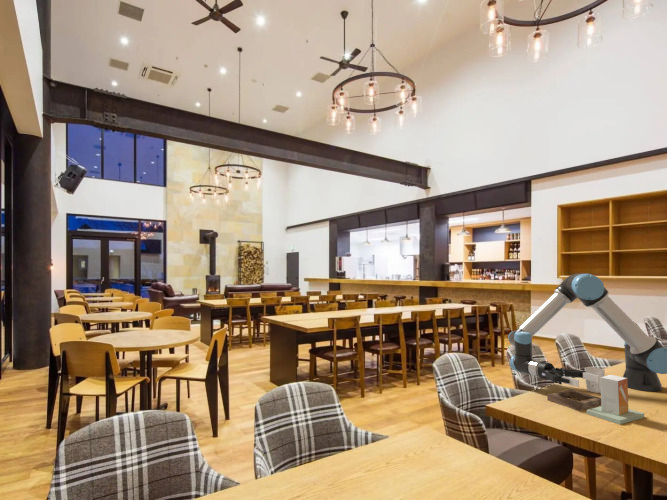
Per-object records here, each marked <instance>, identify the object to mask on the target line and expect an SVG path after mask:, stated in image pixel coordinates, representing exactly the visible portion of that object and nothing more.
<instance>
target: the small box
mask: <svg viewBox="0 0 667 500" xmlns="http://www.w3.org/2000/svg"><path fill="white" fill-rule="evenodd" d="M600 383H601V393H600V398H601V405H600V406H601V411H604V412H607V413H611V414H615V415H621V414H624V413H626V412H628V411H629V410H628V409H629V392H628V391H629V389H628V388H629V387H628V384H627V378H624V377H623V376H618V375H614V374H608V375H605V376H604V377H601V378H600Z"/></svg>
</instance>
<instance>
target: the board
mask: <svg viewBox="0 0 667 500" xmlns="http://www.w3.org/2000/svg"><path fill="white" fill-rule="evenodd" d="M585 410H586V414H587V415H589V416H592V417H595V418H598V419H600V420H601V419H602V420H604V421H606V422H607V421H608V422H611V423H613V424H616V425H624V424H626V423H630V422H633V421H637V420H640V419H643V418H645V413H644V412H641V411H637V410H633V409H631V408H628V410H629V411H628V412H626V413H624V414H621V415H615V414H611V413H607V412H604V411H601V405H600V406H596V407H592V408H588V409H585Z"/></svg>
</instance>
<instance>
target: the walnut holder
mask: <svg viewBox="0 0 667 500" xmlns="http://www.w3.org/2000/svg"><path fill="white" fill-rule="evenodd" d="M546 395H547V396H546V397H547V398H546V400H547V401H549V402H551V403H555V404H558V405H560V406H564V407H567V408H570V409H573V410H575V411H578V412H579V411H583V410H584V411H585V410H588V409H592V408H596V407H600V406H601V396H600V397H599V396H596V395H592V394H589V393H585V392H581V391H578V390H574V389H567V390H562V391H558V392H553V393H552V392H551V393H548V394H546ZM571 398H573V399H571ZM574 399H576V400H574ZM578 400H579V401H578Z"/></svg>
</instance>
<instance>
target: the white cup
mask: <svg viewBox="0 0 667 500" xmlns="http://www.w3.org/2000/svg"><path fill="white" fill-rule="evenodd" d="M583 370H585V371H586V373H589V374H593V375H598V376H599V380H600V378H601V377H604V376H606V374H605V369H603V368H601V367H595V366H592V367H591V366H588V367H584V369H583ZM585 384H586V385H585V386H586V387H585V388H586V391H588V392H590V393H596V394H601V383H600V382H599V383H598V382H594V381H590V380H586V379H585Z"/></svg>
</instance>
